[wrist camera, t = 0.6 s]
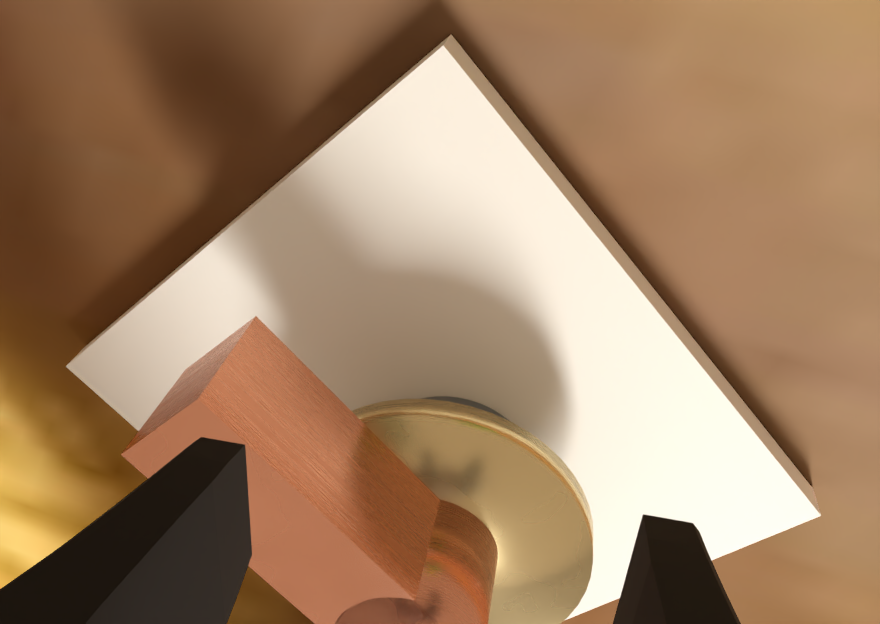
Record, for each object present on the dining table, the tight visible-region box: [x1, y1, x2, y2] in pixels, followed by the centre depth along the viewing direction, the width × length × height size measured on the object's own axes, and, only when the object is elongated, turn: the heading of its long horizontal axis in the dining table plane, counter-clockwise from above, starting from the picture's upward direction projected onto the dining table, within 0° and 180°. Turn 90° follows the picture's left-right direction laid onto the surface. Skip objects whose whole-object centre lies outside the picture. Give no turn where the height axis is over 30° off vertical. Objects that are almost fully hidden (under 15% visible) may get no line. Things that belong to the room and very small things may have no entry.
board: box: [66, 35, 821, 620], centre depth 22 cm, size 14×15×3 cm
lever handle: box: [121, 316, 593, 624], centre depth 19 cm, size 8×11×4 cm
